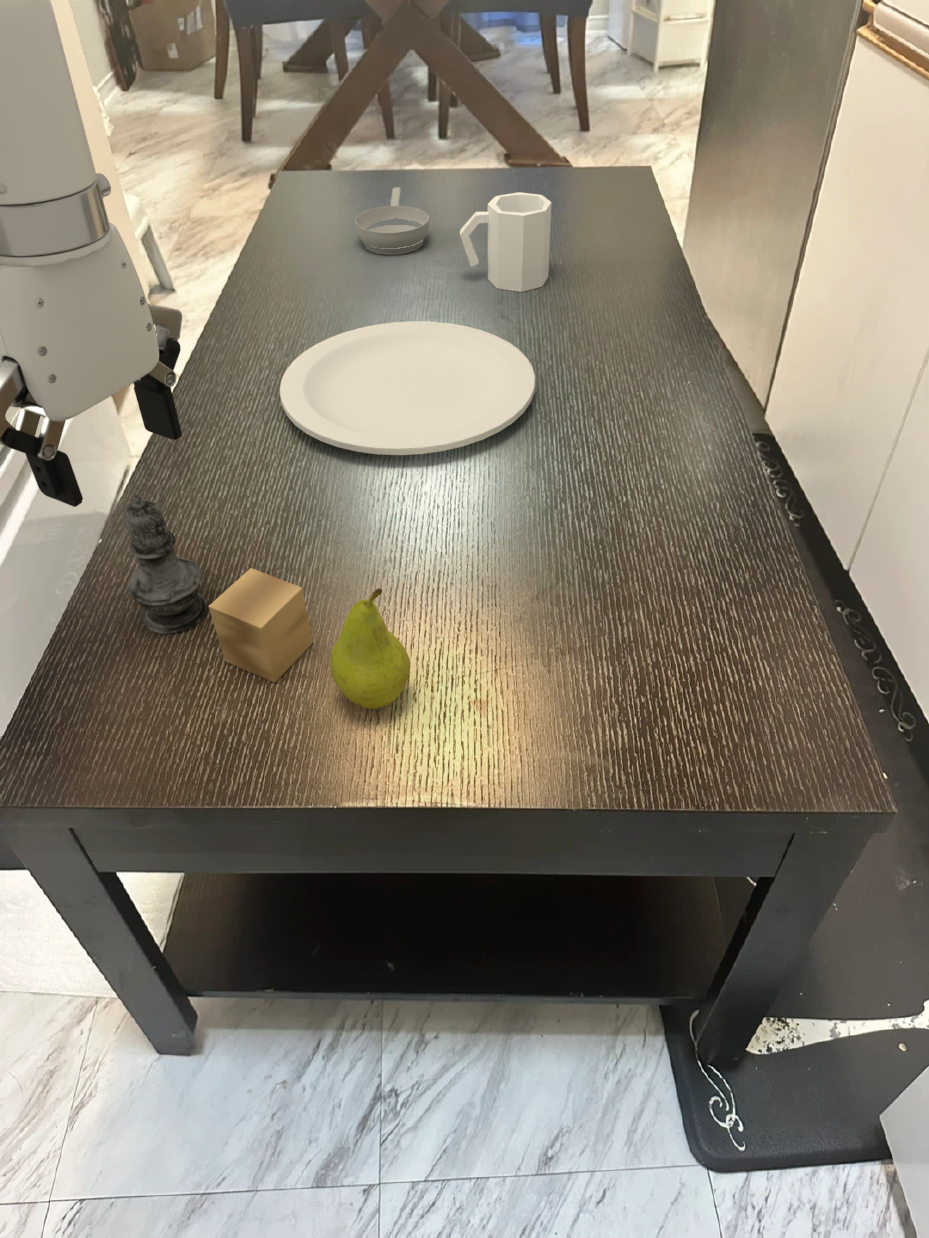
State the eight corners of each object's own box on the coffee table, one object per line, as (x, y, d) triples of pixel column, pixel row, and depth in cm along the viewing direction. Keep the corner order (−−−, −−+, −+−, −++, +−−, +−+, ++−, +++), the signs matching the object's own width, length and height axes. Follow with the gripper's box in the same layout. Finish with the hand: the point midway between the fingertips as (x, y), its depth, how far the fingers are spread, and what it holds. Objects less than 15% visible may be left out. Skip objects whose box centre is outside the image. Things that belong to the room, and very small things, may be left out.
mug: (545, 265, 124) (548, 191, 118) (551, 291, 118) (554, 214, 111) (460, 267, 124) (458, 194, 118) (461, 293, 118) (459, 217, 111)
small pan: (354, 258, 128) (351, 231, 125) (364, 213, 141) (362, 187, 138) (429, 257, 127) (427, 229, 125) (432, 212, 140) (431, 186, 138)
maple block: (224, 661, 70) (208, 606, 66) (264, 622, 73) (250, 567, 69) (274, 683, 68) (260, 628, 64) (313, 642, 71) (302, 587, 67)
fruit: (343, 666, 69) (323, 547, 61) (417, 671, 69) (407, 551, 61) (328, 723, 65) (304, 604, 57) (406, 728, 65) (394, 609, 56)
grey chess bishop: (170, 647, 71) (127, 529, 63) (124, 617, 74) (78, 500, 66) (225, 606, 75) (192, 489, 66) (180, 579, 77) (142, 463, 69)
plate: (417, 318, 113) (416, 300, 112) (586, 395, 99) (588, 376, 97) (233, 399, 99) (228, 380, 98) (397, 503, 85) (395, 482, 83)
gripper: (103, 169, 59) (162, 400, 71) (-137, 254, 48) (-19, 512, 60) (188, 186, 56) (235, 424, 68) (-44, 282, 45) (60, 546, 57)
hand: (116, 465), depth 64 cm, fingers open, 9 cm apart
